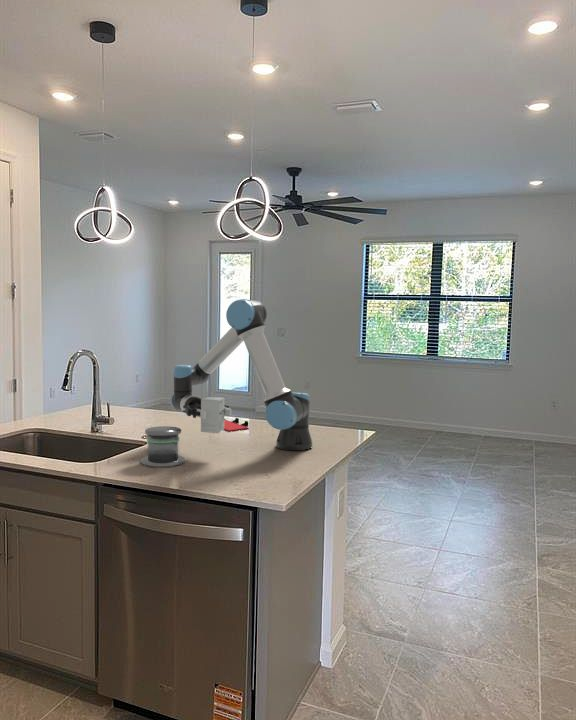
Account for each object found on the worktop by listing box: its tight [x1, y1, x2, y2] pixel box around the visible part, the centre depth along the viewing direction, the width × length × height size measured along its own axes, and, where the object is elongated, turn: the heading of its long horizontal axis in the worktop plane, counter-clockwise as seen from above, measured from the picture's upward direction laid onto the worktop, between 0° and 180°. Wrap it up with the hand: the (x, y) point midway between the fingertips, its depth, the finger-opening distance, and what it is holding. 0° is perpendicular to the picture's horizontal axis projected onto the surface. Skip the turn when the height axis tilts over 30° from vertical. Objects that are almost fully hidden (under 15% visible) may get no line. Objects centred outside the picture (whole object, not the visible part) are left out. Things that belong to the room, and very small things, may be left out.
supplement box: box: [200, 396, 226, 434], centre depth 223 cm, size 7×7×13 cm
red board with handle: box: [223, 417, 250, 433], centre depth 288 cm, size 30×3×15 cm
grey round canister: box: [140, 425, 186, 468], centre depth 216 cm, size 16×16×12 cm
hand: (218, 413), depth 220 cm, fingers closed on supplement box, 10 cm apart
